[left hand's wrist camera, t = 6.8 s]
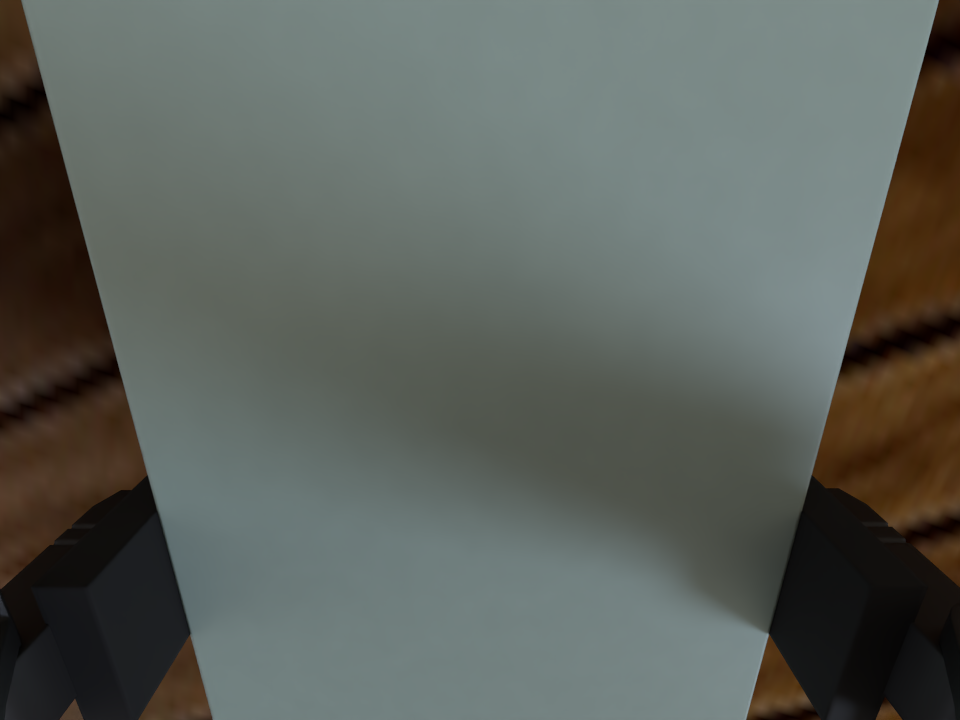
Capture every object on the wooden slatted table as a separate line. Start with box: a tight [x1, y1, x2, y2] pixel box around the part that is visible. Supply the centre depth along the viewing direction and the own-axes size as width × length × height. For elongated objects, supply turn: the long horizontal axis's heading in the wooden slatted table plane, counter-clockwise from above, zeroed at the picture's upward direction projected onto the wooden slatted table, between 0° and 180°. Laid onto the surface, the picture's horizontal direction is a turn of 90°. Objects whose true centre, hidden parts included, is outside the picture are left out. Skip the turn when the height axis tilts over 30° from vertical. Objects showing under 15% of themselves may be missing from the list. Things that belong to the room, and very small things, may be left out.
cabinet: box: [21, 0, 939, 720], centre depth 11 cm, size 19×10×10 cm, turn 0°
